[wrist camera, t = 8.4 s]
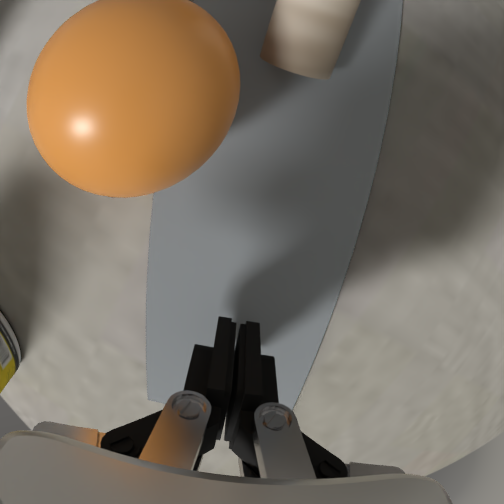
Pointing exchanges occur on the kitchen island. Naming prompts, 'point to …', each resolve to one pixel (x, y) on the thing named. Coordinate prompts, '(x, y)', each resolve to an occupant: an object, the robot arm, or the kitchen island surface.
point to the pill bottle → (8, 352)
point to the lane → (271, 202)
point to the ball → (133, 95)
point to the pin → (308, 35)
